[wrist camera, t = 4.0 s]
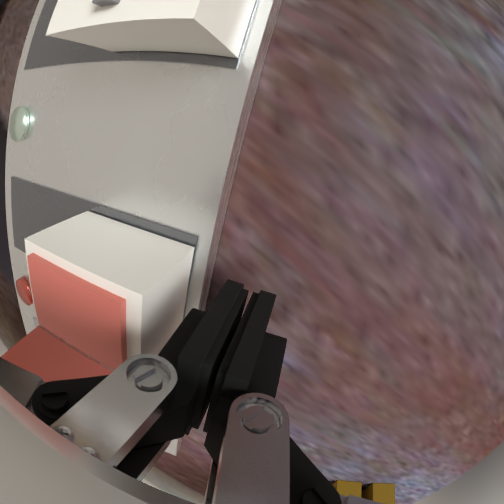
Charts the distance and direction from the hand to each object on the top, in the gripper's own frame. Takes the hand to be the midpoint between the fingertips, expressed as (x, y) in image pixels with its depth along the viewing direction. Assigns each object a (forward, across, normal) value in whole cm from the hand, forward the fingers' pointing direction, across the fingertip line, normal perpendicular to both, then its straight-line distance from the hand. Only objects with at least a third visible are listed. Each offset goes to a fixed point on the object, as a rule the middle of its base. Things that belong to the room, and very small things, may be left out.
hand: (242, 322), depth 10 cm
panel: (+2, +8, 0) cm, 9 cm away
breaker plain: (+1, +5, -10) cm, 11 cm away
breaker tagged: (+1, +5, 0) cm, 5 cm away
